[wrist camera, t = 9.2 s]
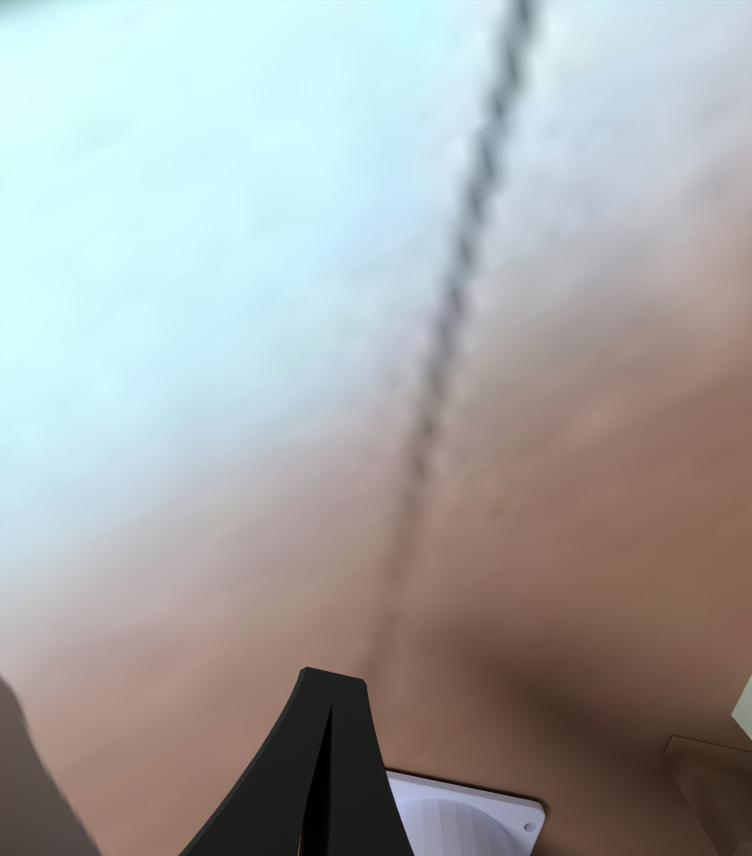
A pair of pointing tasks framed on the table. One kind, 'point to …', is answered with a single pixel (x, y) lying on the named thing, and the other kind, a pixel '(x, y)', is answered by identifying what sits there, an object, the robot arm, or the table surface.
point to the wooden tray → (715, 790)
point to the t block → (745, 710)
